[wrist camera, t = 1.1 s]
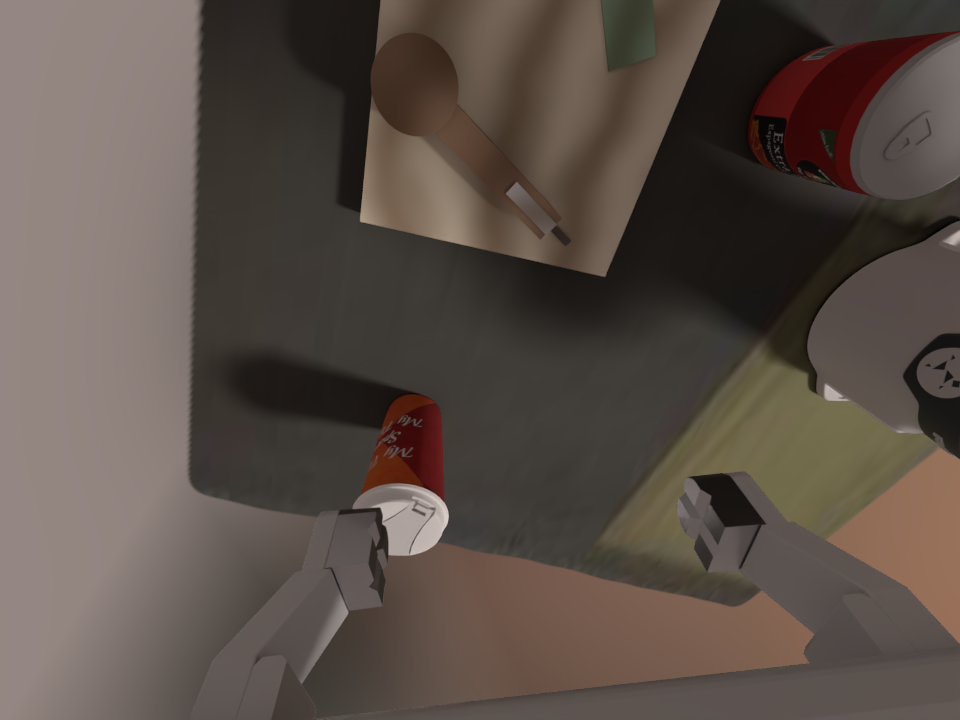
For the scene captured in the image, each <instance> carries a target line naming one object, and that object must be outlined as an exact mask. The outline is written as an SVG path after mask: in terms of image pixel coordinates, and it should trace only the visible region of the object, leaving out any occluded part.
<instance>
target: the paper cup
mask: <svg viewBox="0 0 960 720" xmlns="http://www.w3.org/2000/svg"><path fill="white" fill-rule="evenodd" d="M376 507H380V508H381V511H382V514H383V520H382V524H383V525H384V526H386V529H387V533H388V541H389V553H388V555H400V556H402V555H414V554H418V553H421V552H424V551H426V550H428V549H430V548H431V547H432V546H434V545H435V544H436V543H437V542H438V540H439V539H440V537H441V535H442V532H443V530H444V529H445V527H446V525H447V523H448V518H449V515H448V509H447V507H446V505H445V503H444V476H443V447H442V424H441V413H440V410H439V407H438V406H437V404H436V403H435V402H434V401H433V400H431V399H430V398H428V397H426V396H423V395H419V394H407V395H403V396H401V397H399V398H397V399H396V400H394V401H393V402H392V403H391V405H390V407H389V409H388V411H387V414H386V417H385V420H384V423H383V426H382V429H381V432H380V435H379V438H378V442H377V445H376V448H375V451H374V454H373V457H372V461H371V464H370V467H369V470H368V473H367V477H366V480H365V483H364V486H363V489H362V493H361V496H359V498H358V499H357V500H356V501H355V503H354V505H353V509H362V508H376Z"/></svg>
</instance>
